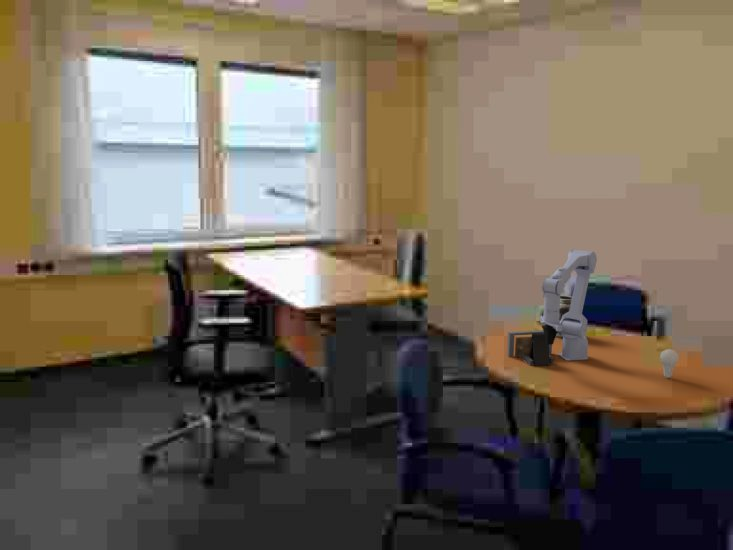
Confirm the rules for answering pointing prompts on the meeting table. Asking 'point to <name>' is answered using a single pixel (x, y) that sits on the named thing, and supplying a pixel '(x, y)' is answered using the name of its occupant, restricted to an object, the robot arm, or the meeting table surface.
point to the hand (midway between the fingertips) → (549, 344)
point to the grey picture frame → (511, 334)
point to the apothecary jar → (564, 309)
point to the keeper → (532, 360)
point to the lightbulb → (668, 361)
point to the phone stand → (539, 350)
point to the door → (522, 346)
